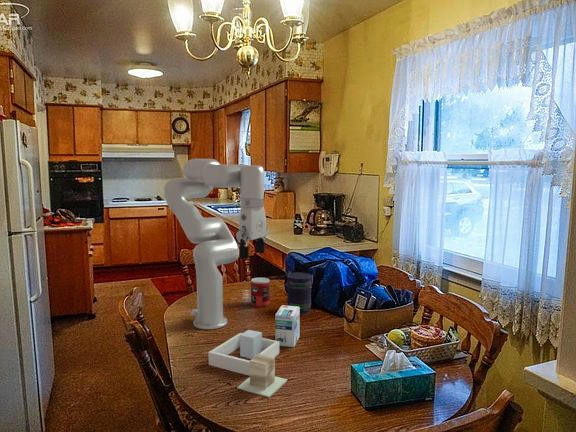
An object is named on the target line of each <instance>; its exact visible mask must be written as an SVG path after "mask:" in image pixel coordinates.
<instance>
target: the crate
mask: <svg viewBox="0 0 576 432" xmlns="http://www.w3.org/2000/svg"><path fill="white" fill-rule="evenodd" d="M242 333H243V332H239V333H238V334H236V335H234V336H232V337H231V338H229V339H228V340H225V342H223V343H221V344H220V345H218V346H216V347H214V348H213V349H211V350H210V351H208V353H207V354H208V366H212V367H215V368H219V369H223V370H228V371H231V372H233V373H238V374H243V375H246V376H249V377H250V360H249V359H246V358H245V359H244V358H242V357H241V358H240V357H237V356H233V355H229V354H231V353H233V352H234V351H236V350H237V349H240V335H241V334H242ZM259 354H263V355H267V356H271V357H275V358H276V357H277V356H278V355H279V354H280V346H279V341H275V340H274V339H270V338H265V337H262V352H261V353H259ZM255 357H256V356H255Z"/></svg>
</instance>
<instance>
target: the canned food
mask: <svg viewBox="0 0 576 432" xmlns="http://www.w3.org/2000/svg"><path fill="white" fill-rule="evenodd" d="M270 284H271V283H270V279H269V278H267V277H253V278H251V279H250V304H251V306H252V307H254V308H266V307H268V306H270V296H271V295H270V292H271V291H270V286H271V285H270Z"/></svg>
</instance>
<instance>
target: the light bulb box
mask: <svg viewBox="0 0 576 432" xmlns="http://www.w3.org/2000/svg"><path fill="white" fill-rule="evenodd" d="M274 316H275V318H274V319H275V321H274V322H275V324H274V327H275V330H274V333H275V334H274V335H275V338H274V339H275V341H279V347H290V348H295V346H296V344H297V342H298V340H299V338H300V336H301V335H300V325H301V324H300V320H301V318H300V316H301V315H300V307H297V306H288V305H287V304H285V305H284V304H282V305H281V306H279V309H278V310H277V312H276V313H275V315H274Z"/></svg>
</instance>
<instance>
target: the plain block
mask: <svg viewBox="0 0 576 432" xmlns="http://www.w3.org/2000/svg"><path fill="white" fill-rule="evenodd" d="M241 333H242V334H241V335H240V347H239V357H241V358H242V357H243V358H245V359H248V360H249V359H250V360H251V359H253V358H254V357H255V356H257V355H258V354H259V353H261V352H262V338H263V332H262V331H257V330H251V329H247V330H246V331H244V332H241Z"/></svg>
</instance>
